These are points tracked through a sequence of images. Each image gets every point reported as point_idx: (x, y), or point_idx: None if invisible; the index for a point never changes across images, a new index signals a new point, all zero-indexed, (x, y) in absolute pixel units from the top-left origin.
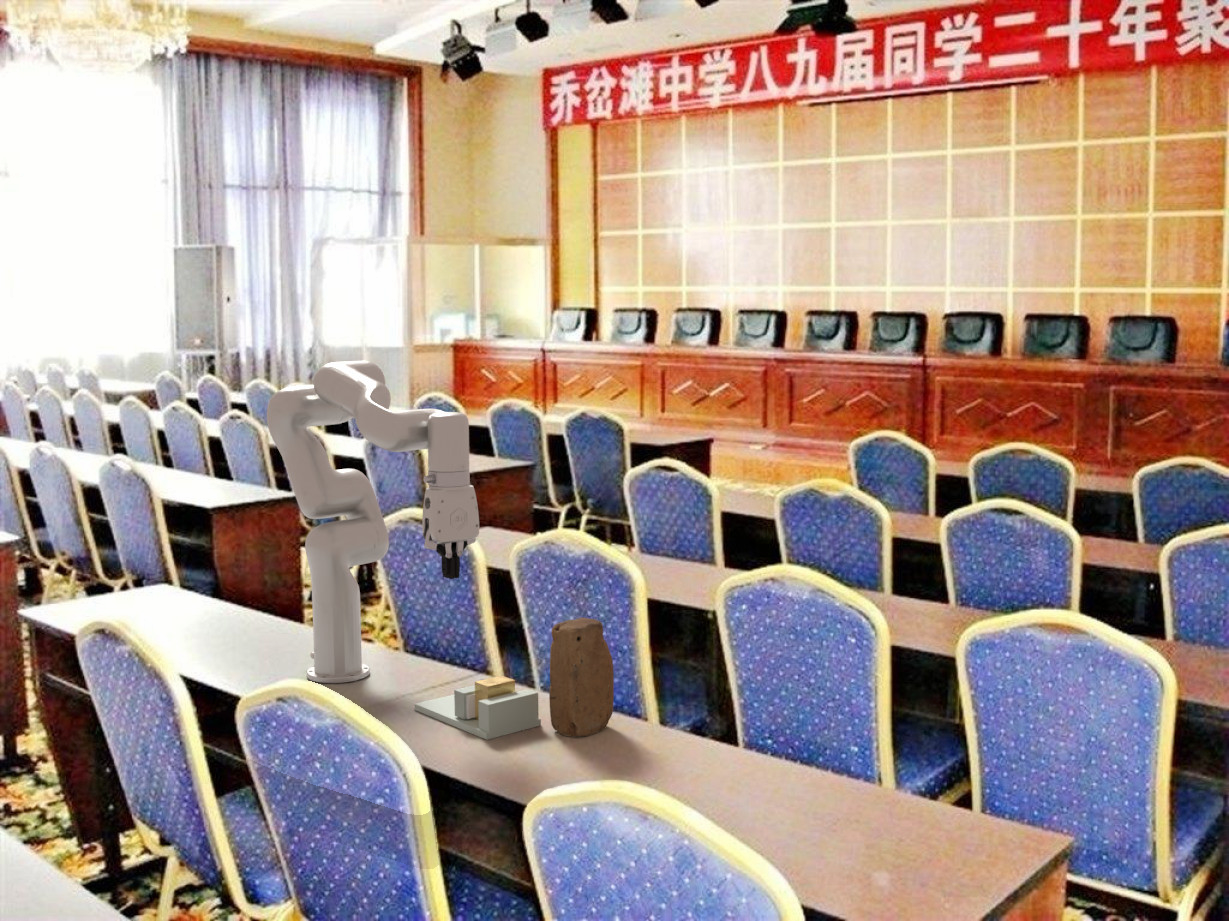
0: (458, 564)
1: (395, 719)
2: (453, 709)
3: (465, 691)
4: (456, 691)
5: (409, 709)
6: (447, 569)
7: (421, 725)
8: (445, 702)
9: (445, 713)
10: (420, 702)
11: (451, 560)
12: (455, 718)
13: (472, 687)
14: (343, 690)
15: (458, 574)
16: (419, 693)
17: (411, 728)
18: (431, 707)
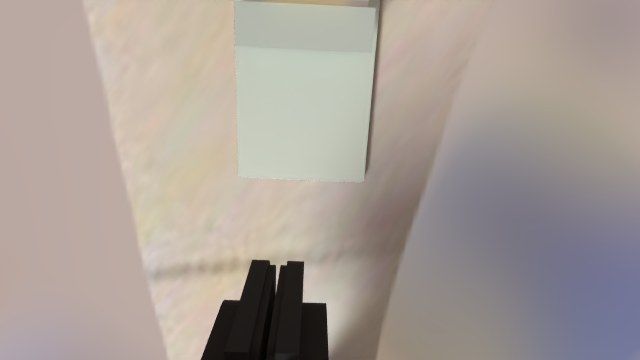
0: (243, 308)
1: (422, 156)
2: (332, 98)
3: (362, 19)
4: (372, 42)
5: (366, 187)
6: (318, 317)
7: (414, 91)
8: (315, 147)
9: (361, 87)
10: (351, 180)
11: (299, 343)
12: None
13: (327, 36)
14: (378, 343)
15: (256, 267)
16: (294, 251)
17: (439, 90)
18: (356, 139)
